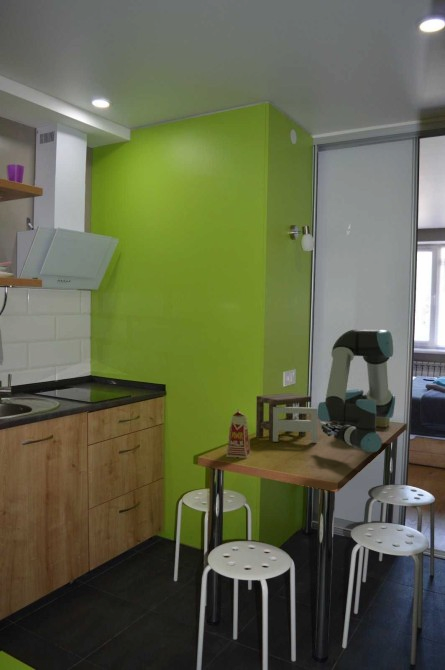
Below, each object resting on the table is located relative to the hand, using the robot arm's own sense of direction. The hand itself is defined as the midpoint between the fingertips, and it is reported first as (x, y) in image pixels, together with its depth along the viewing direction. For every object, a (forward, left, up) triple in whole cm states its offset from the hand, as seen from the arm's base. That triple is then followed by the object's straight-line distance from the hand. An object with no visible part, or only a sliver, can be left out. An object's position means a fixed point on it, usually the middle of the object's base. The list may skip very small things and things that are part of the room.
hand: (320, 425), depth 235 cm
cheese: (+27, -65, -11) cm, 71 cm away
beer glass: (+56, -37, -11) cm, 68 cm away
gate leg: (+17, 0, -11) cm, 20 cm away
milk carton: (+13, +36, -11) cm, 40 cm away
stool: (+29, -4, -11) cm, 31 cm away
